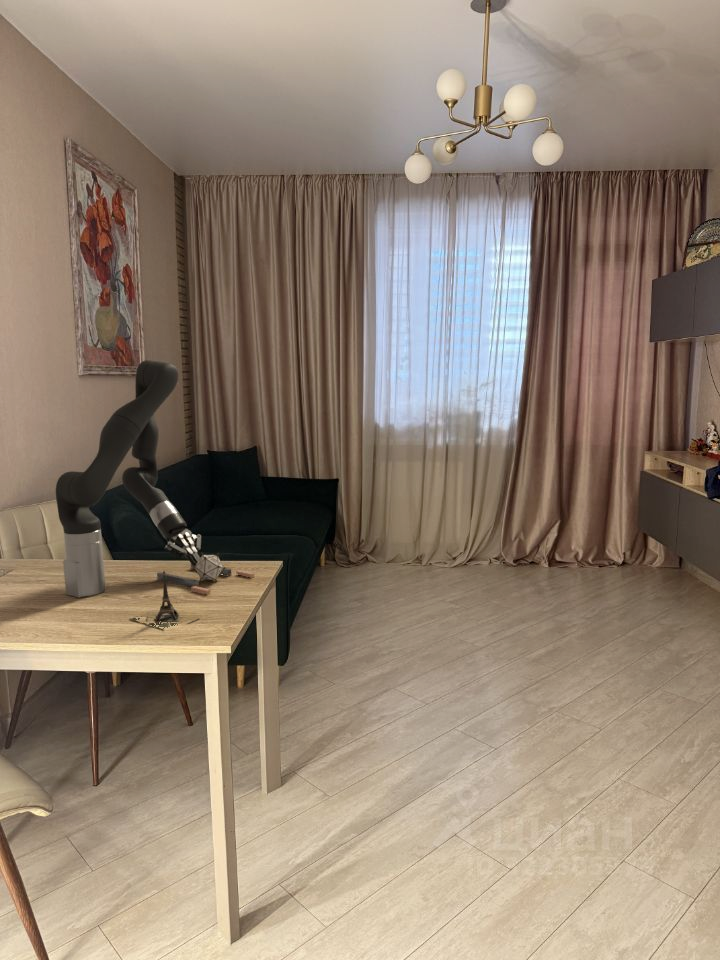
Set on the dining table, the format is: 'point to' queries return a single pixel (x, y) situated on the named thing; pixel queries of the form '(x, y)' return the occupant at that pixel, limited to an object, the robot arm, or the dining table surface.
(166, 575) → the chute
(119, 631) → the dining table surface
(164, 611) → the eiffel tower figurine
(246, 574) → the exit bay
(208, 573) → the game die
